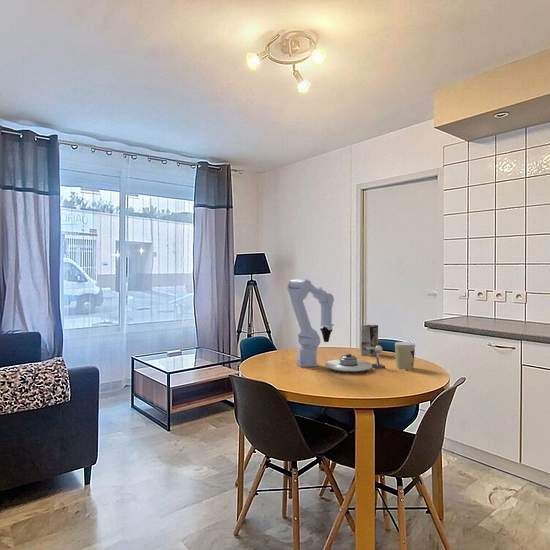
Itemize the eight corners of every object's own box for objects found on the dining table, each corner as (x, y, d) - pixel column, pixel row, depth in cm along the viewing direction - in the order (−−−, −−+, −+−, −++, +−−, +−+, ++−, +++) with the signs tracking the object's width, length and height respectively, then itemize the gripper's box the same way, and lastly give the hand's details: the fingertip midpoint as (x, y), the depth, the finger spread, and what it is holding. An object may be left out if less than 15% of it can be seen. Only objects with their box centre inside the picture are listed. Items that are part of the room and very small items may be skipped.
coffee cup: (416, 370, 198) (416, 345, 198) (395, 370, 200) (395, 344, 200) (413, 366, 207) (413, 341, 207) (394, 365, 209) (394, 341, 209)
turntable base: (336, 374, 192) (336, 371, 192) (324, 365, 210) (324, 362, 210) (374, 372, 195) (374, 369, 195) (359, 363, 213) (359, 360, 213)
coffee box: (371, 356, 231) (371, 326, 231) (360, 355, 235) (360, 326, 235) (378, 353, 238) (378, 325, 238) (367, 352, 242) (367, 324, 242)
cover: (343, 366, 197) (343, 356, 197) (337, 363, 205) (337, 353, 205) (359, 366, 199) (359, 355, 199) (353, 362, 207) (353, 352, 206)
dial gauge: (368, 369, 202) (368, 346, 202) (364, 366, 207) (364, 344, 207) (385, 368, 203) (385, 345, 203) (380, 366, 208) (380, 344, 208)
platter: (334, 372, 190) (334, 370, 190) (319, 361, 211) (319, 360, 211) (380, 369, 194) (380, 368, 194) (361, 359, 215) (361, 358, 215)
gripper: (338, 317, 217) (338, 343, 217) (329, 314, 231) (329, 339, 231) (324, 317, 215) (324, 344, 215) (316, 314, 229) (316, 339, 230)
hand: (326, 341), depth 223 cm, fingers closed
